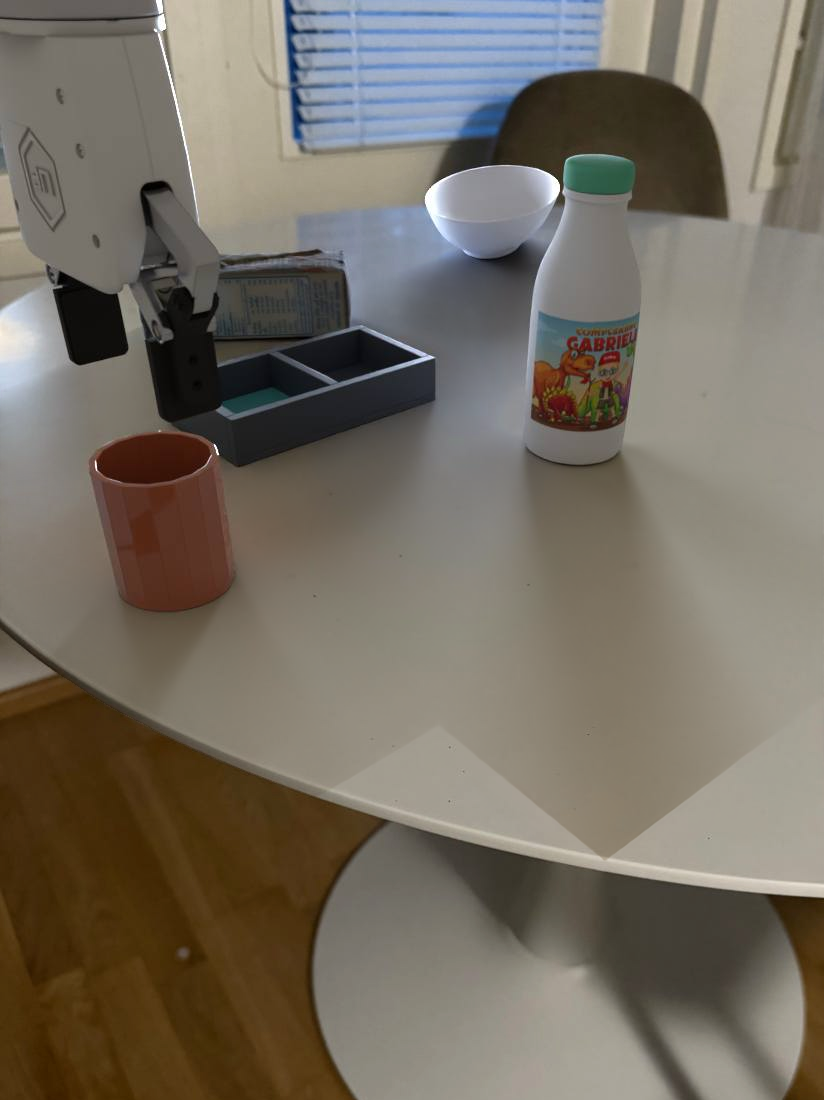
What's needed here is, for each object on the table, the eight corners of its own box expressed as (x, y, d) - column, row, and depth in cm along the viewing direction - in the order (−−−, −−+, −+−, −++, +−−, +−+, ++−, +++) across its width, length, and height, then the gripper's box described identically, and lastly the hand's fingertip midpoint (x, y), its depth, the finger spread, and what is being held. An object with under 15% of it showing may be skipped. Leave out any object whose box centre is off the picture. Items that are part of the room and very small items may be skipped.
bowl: (461, 210, 130) (462, 161, 127) (570, 220, 128) (574, 170, 124) (399, 272, 107) (398, 215, 103) (530, 286, 105) (534, 228, 101)
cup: (97, 575, 57) (66, 453, 52) (198, 537, 61) (178, 420, 56) (153, 626, 53) (125, 500, 49) (256, 582, 57) (241, 461, 52)
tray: (168, 422, 74) (161, 377, 72) (362, 364, 85) (360, 324, 83) (237, 467, 69) (231, 420, 67) (435, 399, 79) (435, 357, 77)
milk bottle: (501, 439, 74) (516, 154, 62) (572, 415, 78) (599, 143, 66) (571, 477, 69) (601, 177, 57) (643, 449, 73) (686, 164, 61)
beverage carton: (154, 314, 94) (142, 244, 90) (351, 312, 96) (348, 244, 92) (142, 343, 87) (129, 269, 83) (354, 341, 90) (350, 268, 86)
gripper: (-103, -22, 42) (4, 355, 53) (70, 3, 32) (160, 462, 43) (62, -24, 46) (131, 326, 57) (259, -2, 37) (300, 417, 47)
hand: (143, 384), depth 50 cm, fingers open, 9 cm apart
